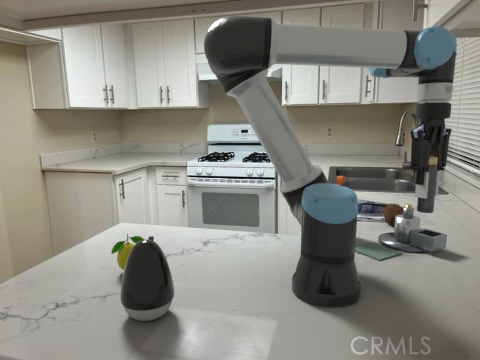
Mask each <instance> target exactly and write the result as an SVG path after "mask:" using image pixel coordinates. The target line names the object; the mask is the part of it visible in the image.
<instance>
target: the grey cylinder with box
mask: <svg viewBox="0 0 480 360" xmlns="http://www.w3.org/2000/svg"><path fill="white" fill-rule="evenodd" d="M402 207H403V215H396V216H395V225H394V231H393V232H394V239H395V240H397V241H400V242H404V243H410V245H413V246H416V247H419V248H422V249H425V250H428V251H430V252H433V253H434V252H437V251H439V250H442V249H446V248H447V239H448V234H447V233H443V232H440V231H436V230H432V229H428V228H424V227H423V228H421V217H418V216H416V215H414V212H415V208H414V207H413V204H409V203H407V204H405V206H402Z"/></svg>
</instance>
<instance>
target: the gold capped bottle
mask: <svg viewBox="0 0 480 360" xmlns="http://www.w3.org/2000/svg"><path fill="white" fill-rule="evenodd" d="M437 162H438V157H436V156H430V157H429V162H428V167H427V171H426V172H429V179H428V191H427V198H420V197H417V202H416V203H417V204H416V212H419V213H422V214H423V213H424V214H433V213H435V211H434V210H435V198H436V196H435V188H436V177H437Z"/></svg>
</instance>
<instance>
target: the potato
mask: <svg viewBox="0 0 480 360" xmlns="http://www.w3.org/2000/svg"><path fill="white" fill-rule="evenodd" d="M403 207H404V206H401V205H399V204H396V203H393V204H392V203H389V204H387V205H386V206H385V207H384V211H383V217H384V221H385V222H386V223H387V224H388V225H391V226H395V216H396V215H403Z"/></svg>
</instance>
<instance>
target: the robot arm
mask: <svg viewBox="0 0 480 360" xmlns="http://www.w3.org/2000/svg"><path fill="white" fill-rule="evenodd" d="M457 46H458V45H457V37H456V35H454V34H453V33H451V31H450V30H448V29H447V28H445V27H443V26H439V25H436V26H435V25H434V26H432V27H427V28H426V27H425V28H423V29H422V30H412V29H411V30H408V29H407V30H406V29H405V30H404V29H403V30H401V29H389V28H388V29H386V28H384V29H383V28H382V29H381V28H366V27H364V28H363V27H346V26H345V27H344V26H343V27H342V26H329V25H328V26H327V25H323V26H322V25H310V24H307V25H306V24H287V23H286V24H285V23H278V22H277V21H276V20H275V19H274V18H273V17H260V16H246V15H231V16H226V17H225V16H224V17H222V18H220V19H218V20H216V21H215V22H214V23H212V25H210V26H209V28H208V30H207V31H206V33H205V37H204V42H203V51H204V55H205V59H206V60H207V63H208V66H209V68H210V70H211V72H212V73H213V74H214V75H215V77H216V79H217V81H218V82H219V84H220V86H221V88H222V89H223V91H224V93H225V95H226V96H229V97H232V98H234V99H235V100H236V101H237V103H238V104H239V108H240V109H241V111H242V112H243V114H244V116H245V118H246V119H247V121H248V123H249V125H250V126H251V129H252V130H253V132H254V133H255V135H256V138H257V139H258V141H259V143H260V144H261V146H262V148H263V149H264V151H265V154H266V155H267V157H268V159H269V161H270V162H271V164H272V166H273V168H274V169H275V171H276V173H277V174H278V177H279V178H280V180H281V182H282V183H281V187H280V192H281V194H282V196H283V198H284V200H285V201H286V203H287V205H288V206H289V210H290V213H291V214H292V216H293V217H294V218H295V219H296V221H297V222H298V224H299V225H300V229H301V230H300V231H301V232H300V255H299V259H298V262H297V264H296V268H295V272H294V273H293V274H292V278H291V291H292V293H293V294H294V295H295V296H296V297H297V298H299V299H300V300H302V301H304V302H307V303H308V304H313V305H315V306H320V307H326V308H327V307H329V308H341V307H342V308H343V307H347V306H350V305H354V304H355V303H357V302H359V300H360V299H361V296H362V283H361V280H360V279H359V274H358V271H357V270H358V269H357V266H356V262H355V255H356V252H355V247H356V240H357V226H358V215H359V205H358V204H359V203H358V201H359V199H358V196H357V193H356V192H355V191H354V190H353V189H351V188H349V187H347V186H344V185H342V186H340V185H337V184H336V183H330V181H329V180H328V178H327V175H325V173H324V171H323V169H322V168H321V167H318V166H314V165H313V163H312V162H311V159H310V158H309V156H308V154H307V152H306V150H305V149H304V147H303V145H302V143H301V142H300V139H299V137H298V136H297V134H296V131H295V130H294V128H293V126H292V124H291V123H290V121H289V119H288V117H287V115H286V113H285V112H284V110H283V107H282V106H281V104H280V102H279V100H278V98H277V97H276V94H275V93H274V91H273V88H272V87H271V86H270V84H269V82H268V74H269V72H270V71H269V69H270V68H271V67H273V66H274V65H289V66H291V65H293V66H294V65H295V66H315V67H317V66H318V67H338V68H339V67H340V68H341V67H343V68H366V69H367V68H368V71H369V73H370V75H371V76H372V77H373V78H382V79H386V78H387V79H388V78H418V79H417V80H418V81H417V90H416V91H417V94H416V101H417V102H418V103H417V104H416V110H415V118H416V119H418V120H419V123H418V126H417V128H412V129H410V138H411V145H410V146H411V147H410V148H411V149H410V169H411V170H412V171H413V172H415V173H416V176H415V178H416V179H415V192H414V197H415V198H418V197H420V198H427V191H428V179H429V172H426V171H427V167H428V162H429V157H430V156H436V157H438V162H437V177H436V188H435V197H438V193H439V183H440V174H441V173H440V172H441V171H445V170H446V166H447V159H448V154H449V153H448V151H449V144H450V143H449V142H450V137H451V135H452V128H450V127H449V128H448V127H446V123H445V122H446V121H445V119H446V120H447V119H450V118H451V115H452V103H451V102H450V101H452V99H453V91H454V90H455V89H454V78H455V69H456V59H457Z"/></svg>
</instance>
